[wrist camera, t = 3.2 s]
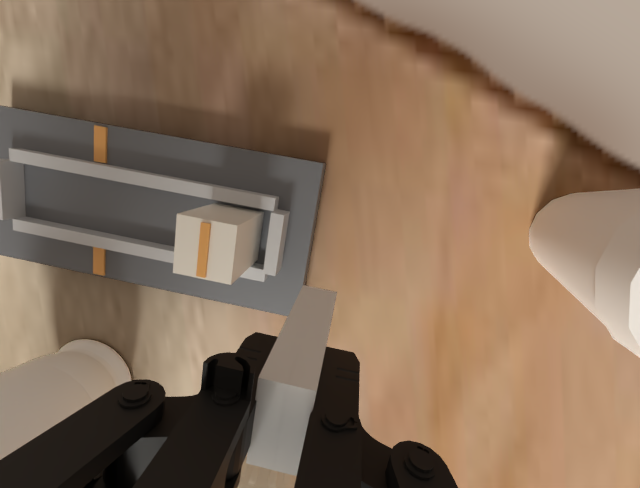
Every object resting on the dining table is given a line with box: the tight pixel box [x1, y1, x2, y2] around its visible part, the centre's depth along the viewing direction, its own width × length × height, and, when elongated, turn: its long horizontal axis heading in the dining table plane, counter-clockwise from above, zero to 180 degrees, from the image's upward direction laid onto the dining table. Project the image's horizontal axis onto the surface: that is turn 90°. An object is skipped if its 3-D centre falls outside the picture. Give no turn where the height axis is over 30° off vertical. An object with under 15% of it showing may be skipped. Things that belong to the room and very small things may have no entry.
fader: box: [173, 203, 264, 285], centre depth 25 cm, size 4×4×6 cm
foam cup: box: [529, 189, 640, 357], centre depth 21 cm, size 10×9×13 cm
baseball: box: [237, 456, 296, 488], centre depth 32 cm, size 7×7×7 cm
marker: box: [93, 125, 108, 276], centre depth 29 cm, size 13×1×1 cm, turn 170°
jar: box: [0, 339, 131, 460], centre depth 29 cm, size 11×10×15 cm
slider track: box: [0, 106, 326, 316], centre depth 29 cm, size 13×28×4 cm, turn 80°
